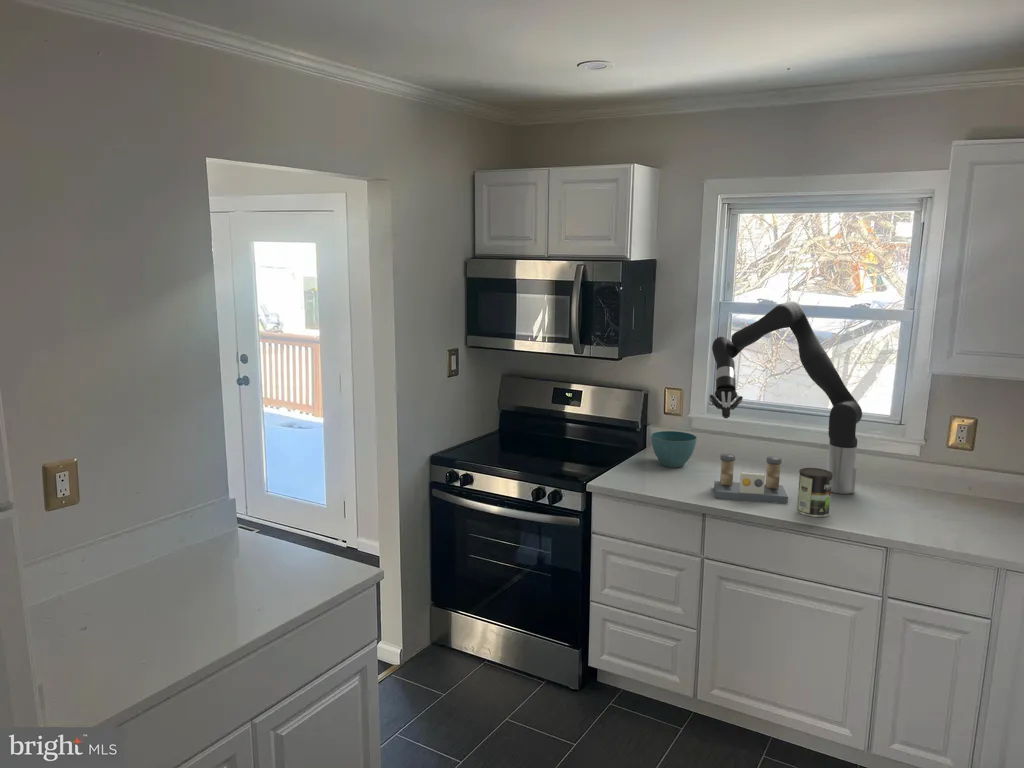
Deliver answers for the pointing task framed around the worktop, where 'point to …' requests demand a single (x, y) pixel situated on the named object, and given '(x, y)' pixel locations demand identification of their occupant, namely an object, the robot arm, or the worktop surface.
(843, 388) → the robot arm
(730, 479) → the far knob
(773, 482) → the near knob
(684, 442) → the teal round bowl
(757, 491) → the slider board
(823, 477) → the coffee can
